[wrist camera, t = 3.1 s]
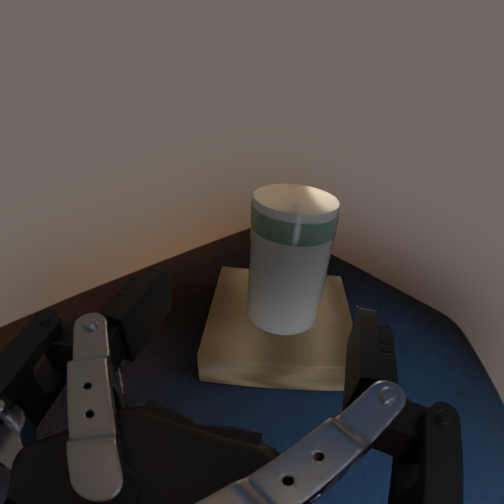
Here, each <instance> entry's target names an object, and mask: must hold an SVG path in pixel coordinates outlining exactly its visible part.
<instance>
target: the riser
mask: <svg viewBox="0 0 504 504" xmlns="http://www.w3.org/2000/svg"><path fill="white" fill-rule="evenodd" d="M248 273H249V269H243V268H231V267H222V270H221V273H220V276H219V280H218V283H217V287H216V290H215V294H214V297H213V301H212V304H211V308H210V311H209V315H208V318H207V322H206V326H205V329H204V333H203V336H202V340H201V344H200V347H199V351H198V354H197V361H198V370H199V379H200V381H206V382H213V383H222V384H230V385H240V386H250V387H262V388H275V389H292V390H318V391H344V382H345V366H346V348H347V342H348V338H349V335H350V332H351V329H352V326H353V323H352V319H351V315H350V310H349V306H348V302H347V299H346V295H345V291H344V287H343V283H342V279H341V276H329V275H327V276H326V281H325V285H324V290H323V294H322V299H321V303H320V308H319V312H318V316H317V320H316V322H315V323H314V325H313V326H312V327H311V328H309V329H308V330H306V331H304V332H302V333H299V334H295V335H277V334H272V333H269V332H266V331H264V330H262V329H260V328H259V327H257V326H256V325H255V324H254V323H252V321H251V320H250V319H249V317H248V314H247V292H248Z"/></svg>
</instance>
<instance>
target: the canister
mask: <svg viewBox="0 0 504 504" xmlns="http://www.w3.org/2000/svg"><path fill="white" fill-rule="evenodd" d="M339 207H340V203H339V201H338V199H337V198H335V197H334V196H333V195H331V194H329V193H327V192H325V191H322V190H320V189H317V188H313V187H309V186H304V185H296V184H272V185H267V186H263V187H260V188H258V189H256V190H255V192H254V193H253V201H252V206H251V237H250V255H249V273H248V292H247V314H248V317H249V319H250V320H251V321H252V323H254V324H255V325H256V326H257V327H259V328H260V329H262V330H264V331H266V332H269V333H272V334H277V335H295V334H299V333H302V332H304V331H306V330H308V329H309V328H311V327H312V326H313V325H314V323H315V322H316V320H317V316H318V312H319V308H320V303H321V299H322V294H323V290H324V285H325V281H326V276H327V271H328V266H329V261H330V256H331V251H332V246H333V241H334V236H335V233H336V229H337V223H338V217H339Z"/></svg>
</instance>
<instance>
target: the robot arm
mask: <svg viewBox="0 0 504 504" xmlns="http://www.w3.org/2000/svg"><path fill="white" fill-rule="evenodd" d="M171 304H172V294H171V285H170V275H169V271H168V270H166V269H161V268H157V267H150V268H149V269H148V270H147V271H146V272H145V273H144V274H143V275H142V276H141V275H138V276H136V277H134V278H132V279H131V280H129V281H128V282H127V283H126V284H125V285H124V286H123V287H122V289H120V290H119V291H118V292H117V294H115V295H114V297H113V298H112V299H111V300H110V301H109V302H108V303H107V304H106V305H105V306H104V307H103V308H102V309H101V310H100V311H99V313H88V314H85V315H83V316H81V317H80V318H78V319H77V320H76V322H73V321H61V319H60V316H59V314H58V312H57V311H55V310H51V309H47V310H43V311H40V312H39V313H37V314H36V315H35V316H34V317H33V318H32V319H31V320H30V321H29V322H28V323H27V324H26V325H25V326H24V327H23V328H22V330H21V331H20V332H19V333H18V334H17V335H16V336H15V337H14V338H13V339H12V341H11V342H10V343H9V344H8V345H7V346H6V347H5V348H4V350H3V351H2V352H1V353H0V466H2V467H7V468H8V469H9V470H11V480H10V486H9V491H8V494H7V497H6V500H5V501H4V503H3V504H312V503H313V502H315V501H316V500H317V499H318V498H320V497H321V496H322V495H323V494H324V493H325V492H327V491H328V490H329V489H330V488H331V487H332V486H333V485H334V484H335V483H336V482H337V481H338V480H340V479H341V478H342V477H343V476H344V475H345V474H346V473H347V472H348V471H349V470H350V469H351V468H352V467H353V466H354V465H355V464H356V463H357V462H358V461H359V460H360V459H361V458H362V457H363V456H364V455H365V454H366V453H367V452H368V451H369V450H370V449H371V448H374V449H376V450H379V451H381V452H384V453H386V454H389V455H391V456H393V462H392V472H391V482H390V490H389V498H388V504H463V454H462V439H461V427H460V418H459V414H458V412H457V411H456V409H455V408H454V407H453V406H451V405H450V404H448V403H445V402H435V403H433V404H431V405H430V406H429V407H428V408H426V407H424V406H421V405H419V404H416V403H414V402H411V401H410V400H408V399H407V398H406V395H405V393H404V391H403V389H402V388H401V387H400V386H399V385H398V378H397V367H396V357H395V348H394V339H393V334H392V332H391V331H390V329H389V327H388V326H387V325H385V324H379V323H378V313H377V310H372V309H365V308H358V311H357V314H356V317H355V320H354V323H353V326H352V329H351V332H350V335H349V338H348V342H347V348H346V366H345V382H344V396H343V408H342V413H340V414H339V415H338V416H337V417H335V418H334V417H333V416H332V417H330V418H328V419H327V420H325V421H324V422H323V423H322V424H320V425H319V426H318V427H317V428H315V429H314V430H313V431H311V432H310V433H309V434H308V435H306V436H305V437H304V438H302V439H301V440H300V441H298V442H297V443H296V444H294V445H293V446H292V447H290V448H289V449H288V450H286V451H285V452H283V453H282V454H280V453H279V452H277V451H276V450H275V449H274V448H272V447H271V446H269V445H267V444H266V443H264V442H261V439H262V433H257V432H253V431H249V430H244V429H240V428H236V427H232V426H213V425H201V424H198V423H196V422H195V421H193V420H191V419H190V418H188V417H186V416H185V415H183V414H181V413H180V412H178V411H177V410H175V409H173V408H170V407H167V406H164V405H161V404H158V403H156V402H153V401H150V400H148V402H147V403H146V405H145V407H138V406H134V407H128V403H127V399H126V393H125V388H124V381H123V375H122V368H121V365H120V363H121V361H122V360H123V359H126V360H128V361H131V362H133V361H134V360H135V359H136V357H137V356H138V354H139V353H140V351H141V350H142V349H143V347H144V346H145V344H146V343H147V341H148V340H149V339H150V337H151V336H152V334H153V333H154V332H155V330H156V329H157V327H158V326H159V325H160V323H161V322H162V320H163V319H164V318H165V316H166V315H167V313H168V312H169V310H170V308H171ZM44 353H45V355H46V357H47V359H46V360H45V361H44V362H43V364H42V365H41V366H40V367H39V369H38V370H37V371H36V373H35V374H34V375H33V368H34V366H35V364H36V363H37V361H38V360H39V359H40V358H41V356H42V355H43V354H44ZM66 383H67V408H68V427H69V429H68V430H66V431H63V432H60V433H58V434H55V435H52V436H50V437H47V438H44V439H41V440H39V441H37V440H36V435H37V430H36V428H37V427H38V425H39V423H40V422H41V420H42V419H43V417H44V416H45V414H46V413H47V411H48V410H49V408H50V407H51V405H52V404H53V402H54V401H55V399H56V398H57V396H58V395H59V393H60V392H61V391H62V389H63V388H64V386H65V385H66Z"/></svg>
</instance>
